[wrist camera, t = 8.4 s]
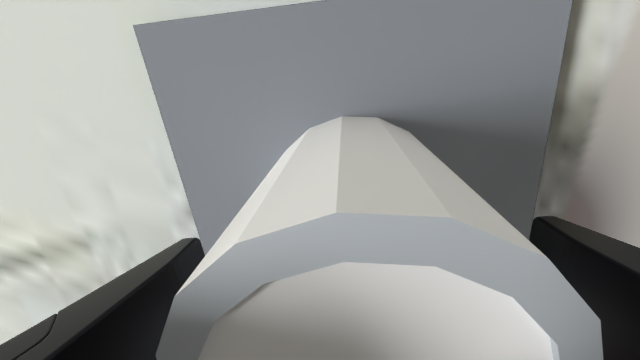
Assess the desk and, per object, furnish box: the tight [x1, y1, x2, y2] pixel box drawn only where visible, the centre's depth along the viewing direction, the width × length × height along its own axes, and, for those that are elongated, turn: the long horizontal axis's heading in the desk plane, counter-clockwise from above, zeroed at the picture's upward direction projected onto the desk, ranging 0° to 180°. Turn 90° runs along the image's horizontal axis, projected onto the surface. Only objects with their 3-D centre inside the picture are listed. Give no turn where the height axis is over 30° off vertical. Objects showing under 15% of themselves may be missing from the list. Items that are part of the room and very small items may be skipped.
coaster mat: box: [133, 0, 573, 256], centre depth 12 cm, size 12×12×1 cm
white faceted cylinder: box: [156, 116, 603, 360], centre depth 8 cm, size 7×7×7 cm
